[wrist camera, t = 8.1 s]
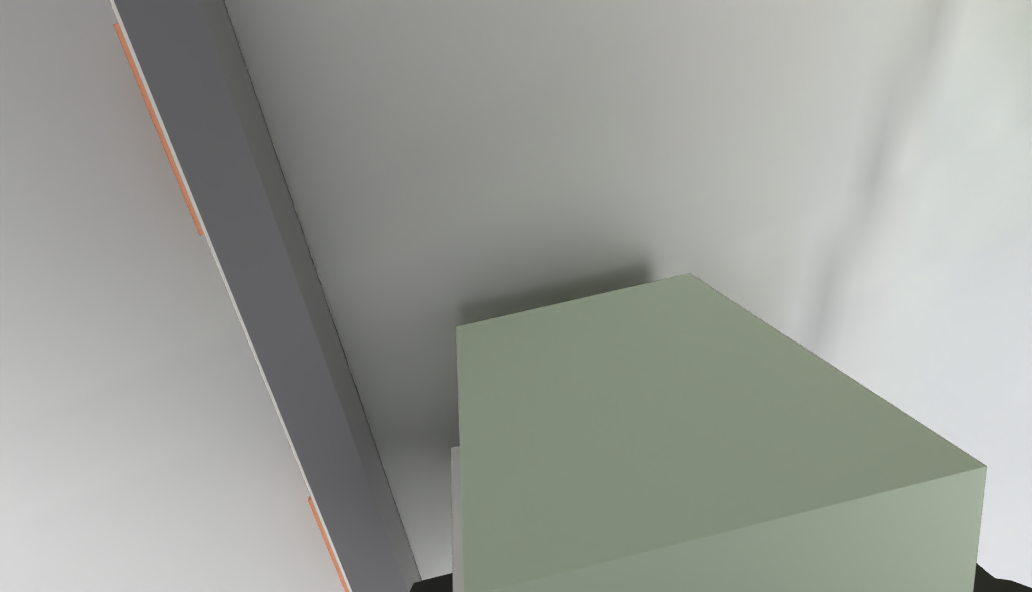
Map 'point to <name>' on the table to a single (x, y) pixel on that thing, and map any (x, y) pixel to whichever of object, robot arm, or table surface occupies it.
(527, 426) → the carton
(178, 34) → the rail
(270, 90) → the table surface
